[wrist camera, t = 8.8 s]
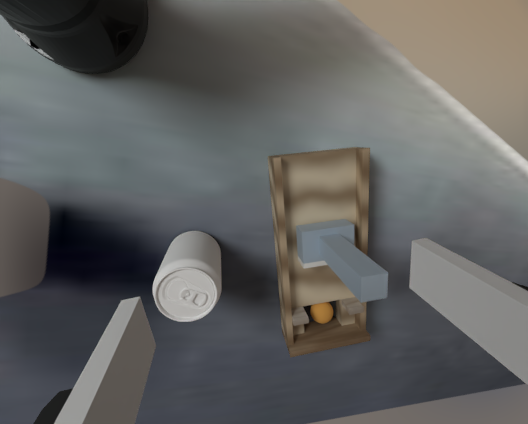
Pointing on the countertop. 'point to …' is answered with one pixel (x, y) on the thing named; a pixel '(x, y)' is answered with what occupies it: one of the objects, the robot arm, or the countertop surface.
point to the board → (314, 211)
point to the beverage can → (189, 277)
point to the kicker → (341, 257)
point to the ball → (322, 312)
